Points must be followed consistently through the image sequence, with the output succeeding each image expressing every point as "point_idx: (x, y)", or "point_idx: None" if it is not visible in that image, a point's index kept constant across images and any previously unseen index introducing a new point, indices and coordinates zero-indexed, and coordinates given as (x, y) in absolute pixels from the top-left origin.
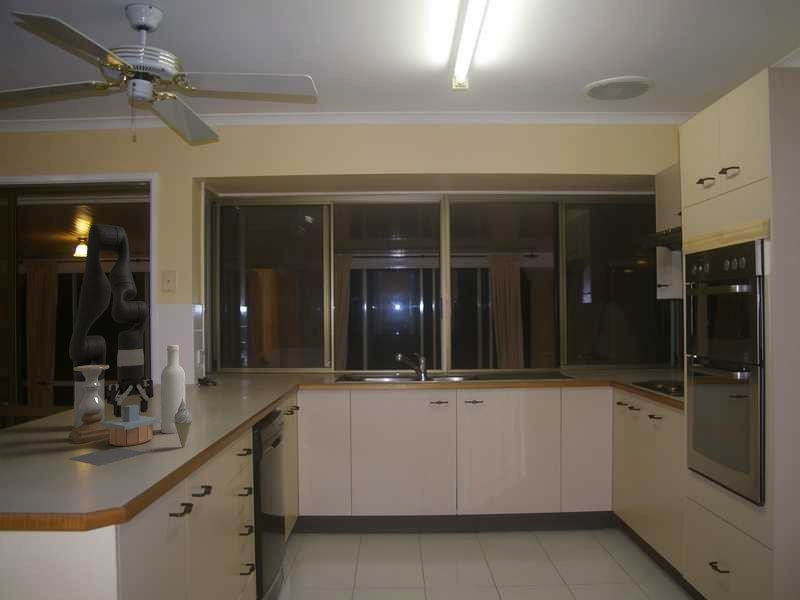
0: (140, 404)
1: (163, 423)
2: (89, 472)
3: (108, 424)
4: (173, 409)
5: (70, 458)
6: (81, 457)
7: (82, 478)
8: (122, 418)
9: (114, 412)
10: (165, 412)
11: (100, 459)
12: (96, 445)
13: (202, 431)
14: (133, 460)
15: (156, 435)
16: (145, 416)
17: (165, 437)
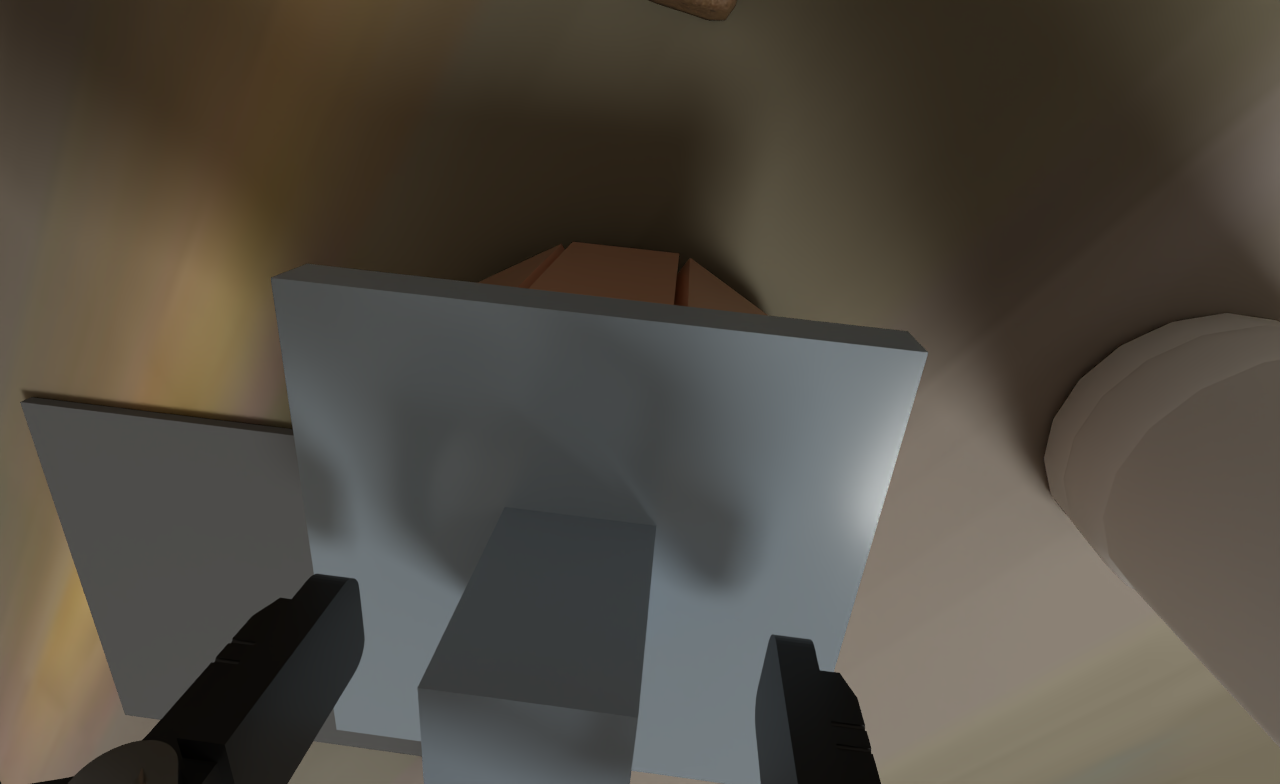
0: (788, 749)
1: (1118, 477)
2: (65, 729)
3: (306, 447)
4: (1275, 741)
5: (37, 418)
6: (107, 473)
7: (11, 768)
8: (618, 352)
9: (240, 654)
10: (1217, 614)
11: (182, 629)
12: (396, 162)
13: (1184, 683)
14: (323, 768)
15: (954, 410)
16: (859, 562)
17: (894, 549)
